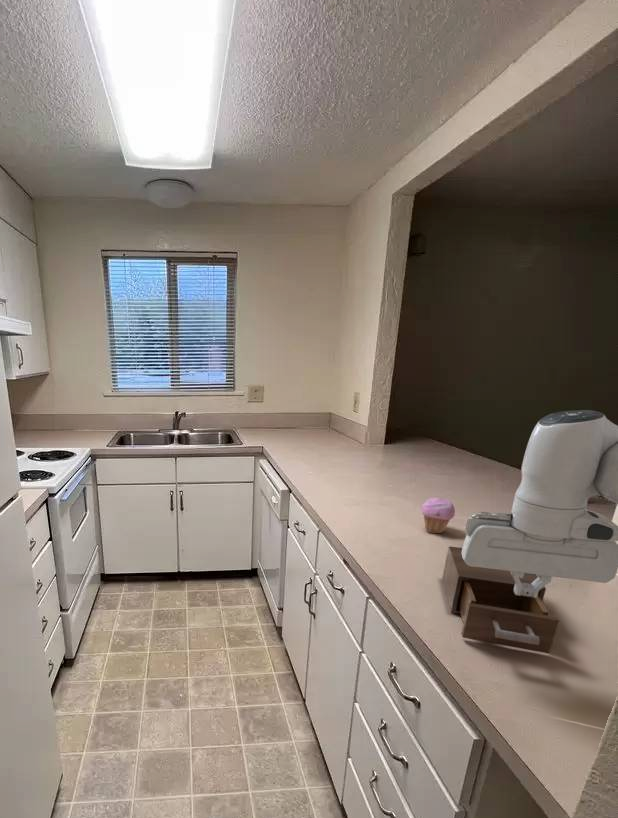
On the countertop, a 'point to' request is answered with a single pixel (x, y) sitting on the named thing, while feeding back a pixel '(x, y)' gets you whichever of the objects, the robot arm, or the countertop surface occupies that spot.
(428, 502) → the cupcake
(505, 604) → the drawer
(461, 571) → the cabinet
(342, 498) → the countertop surface
